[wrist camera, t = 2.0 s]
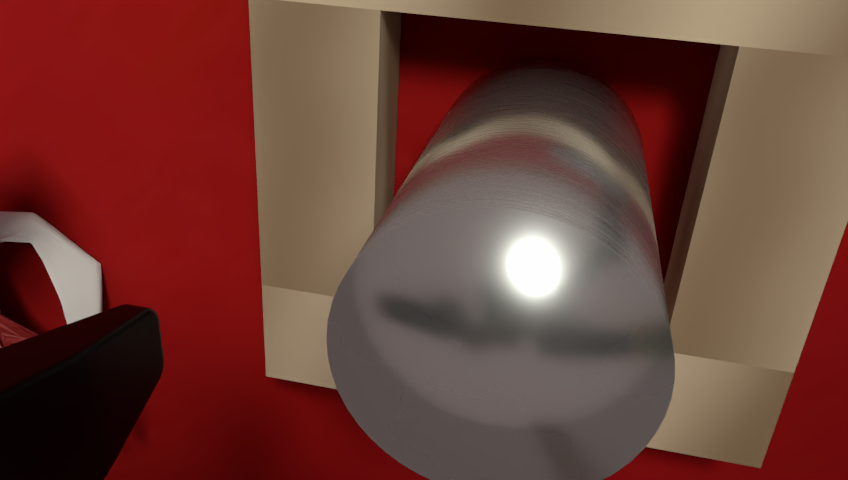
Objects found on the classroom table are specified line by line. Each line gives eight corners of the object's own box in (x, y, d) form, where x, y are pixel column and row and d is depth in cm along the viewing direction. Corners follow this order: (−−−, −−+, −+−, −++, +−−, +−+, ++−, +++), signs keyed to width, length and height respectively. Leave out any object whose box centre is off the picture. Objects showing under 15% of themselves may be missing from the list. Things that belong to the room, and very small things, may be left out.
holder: (920, -113, 13) (965, -111, 12) (746, 417, 19) (760, 468, 17) (278, -155, 15) (240, -158, 13) (291, 337, 20) (265, 375, 19)
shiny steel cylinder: (663, 71, 15) (713, 238, 8) (622, 265, 18) (636, 527, 11) (445, 48, 16) (326, 184, 9) (432, 236, 18) (326, 464, 11)
